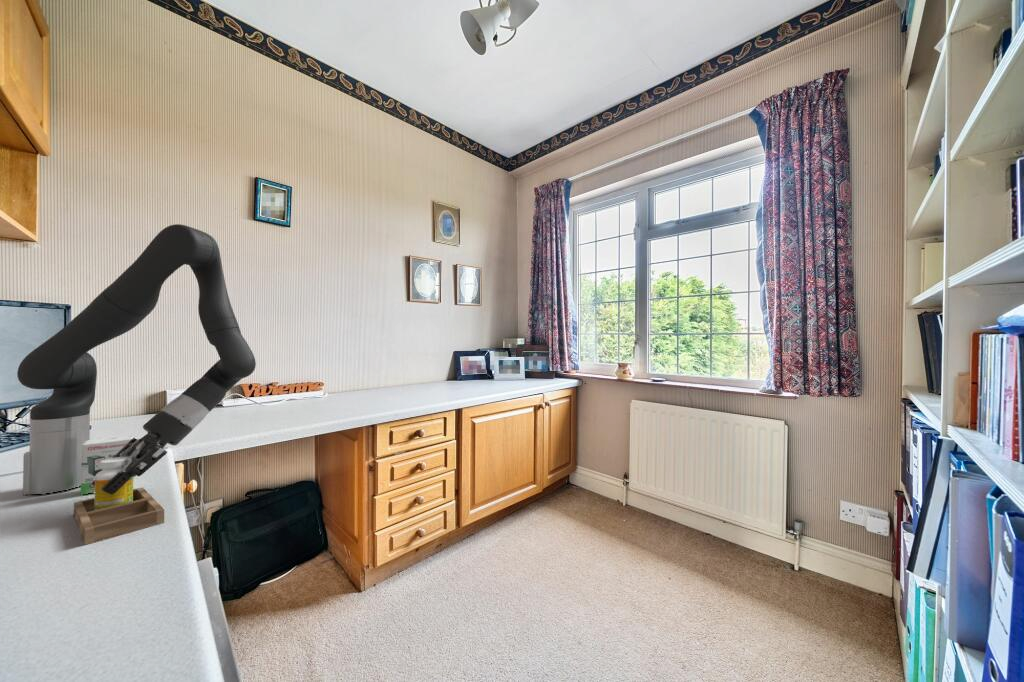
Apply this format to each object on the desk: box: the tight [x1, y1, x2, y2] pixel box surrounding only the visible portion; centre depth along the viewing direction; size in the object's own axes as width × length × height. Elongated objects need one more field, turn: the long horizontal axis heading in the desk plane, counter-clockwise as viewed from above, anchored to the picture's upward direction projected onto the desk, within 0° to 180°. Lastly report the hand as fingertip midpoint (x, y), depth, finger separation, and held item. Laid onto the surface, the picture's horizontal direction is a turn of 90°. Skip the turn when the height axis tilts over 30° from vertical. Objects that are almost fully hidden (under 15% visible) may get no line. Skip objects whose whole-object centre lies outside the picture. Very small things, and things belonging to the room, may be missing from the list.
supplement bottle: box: [94, 457, 134, 510], centre depth 76 cm, size 5×5×10 cm
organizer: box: [73, 486, 165, 546], centre depth 73 cm, size 20×10×2 cm, turn 53°
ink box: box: [79, 435, 136, 496], centre depth 89 cm, size 9×5×12 cm, turn 133°
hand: (101, 489), depth 75 cm, fingers closed on supplement bottle, 5 cm apart
